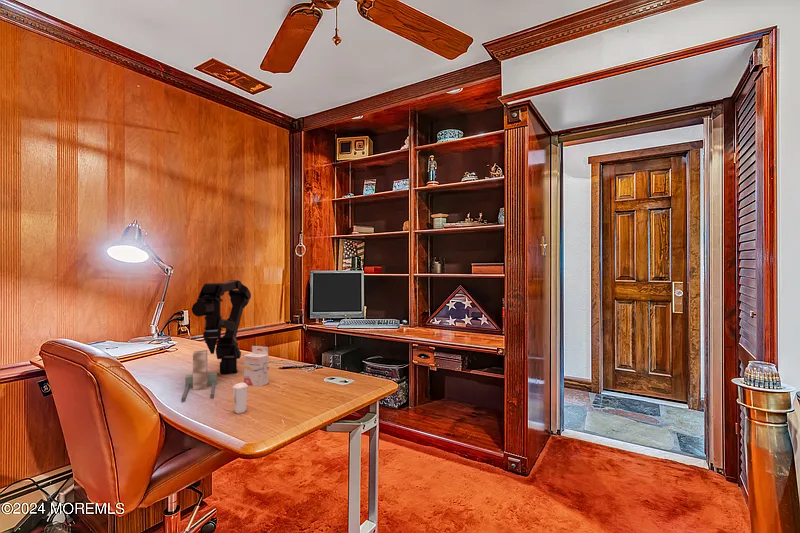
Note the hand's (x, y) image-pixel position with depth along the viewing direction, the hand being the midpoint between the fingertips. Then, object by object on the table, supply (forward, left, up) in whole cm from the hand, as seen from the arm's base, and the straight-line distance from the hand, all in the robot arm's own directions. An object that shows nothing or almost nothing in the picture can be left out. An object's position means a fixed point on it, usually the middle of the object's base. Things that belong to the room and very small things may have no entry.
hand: (213, 351), depth 161 cm
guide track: (+4, +13, -12) cm, 18 cm away
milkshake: (-9, +42, -12) cm, 45 cm away
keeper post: (+4, +9, -12) cm, 15 cm away
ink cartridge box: (-16, +12, -12) cm, 23 cm away
